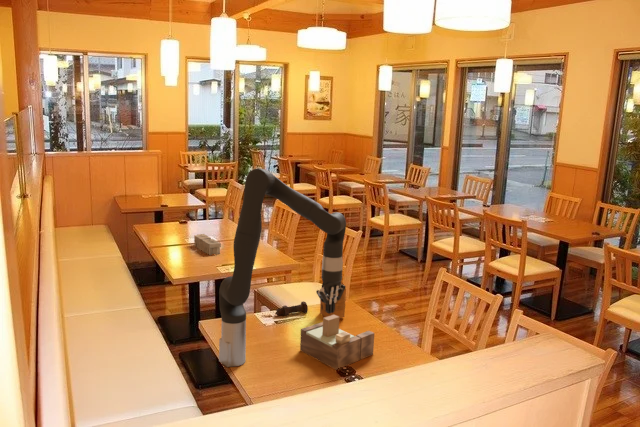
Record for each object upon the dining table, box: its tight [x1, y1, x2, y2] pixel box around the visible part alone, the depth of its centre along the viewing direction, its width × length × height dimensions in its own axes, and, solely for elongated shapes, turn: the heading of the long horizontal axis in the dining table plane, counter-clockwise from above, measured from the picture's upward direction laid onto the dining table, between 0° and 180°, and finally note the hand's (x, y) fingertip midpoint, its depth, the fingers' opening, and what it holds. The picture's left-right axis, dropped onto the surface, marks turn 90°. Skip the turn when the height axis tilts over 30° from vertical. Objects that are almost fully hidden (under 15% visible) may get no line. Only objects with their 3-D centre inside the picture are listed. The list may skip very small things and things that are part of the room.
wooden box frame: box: [299, 321, 375, 370], centre depth 219 cm, size 21×21×9 cm
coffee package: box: [319, 279, 347, 319], centre depth 256 cm, size 10×12×22 cm
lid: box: [306, 315, 356, 347], centre depth 215 cm, size 13×15×9 cm
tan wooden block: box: [336, 331, 351, 344], centre depth 208 cm, size 5×3×3 cm, turn 133°
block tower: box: [193, 233, 222, 256], centre depth 361 cm, size 8×8×29 cm
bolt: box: [275, 301, 309, 317], centre depth 258 cm, size 6×5×15 cm
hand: (330, 312), depth 201 cm, fingers closed
